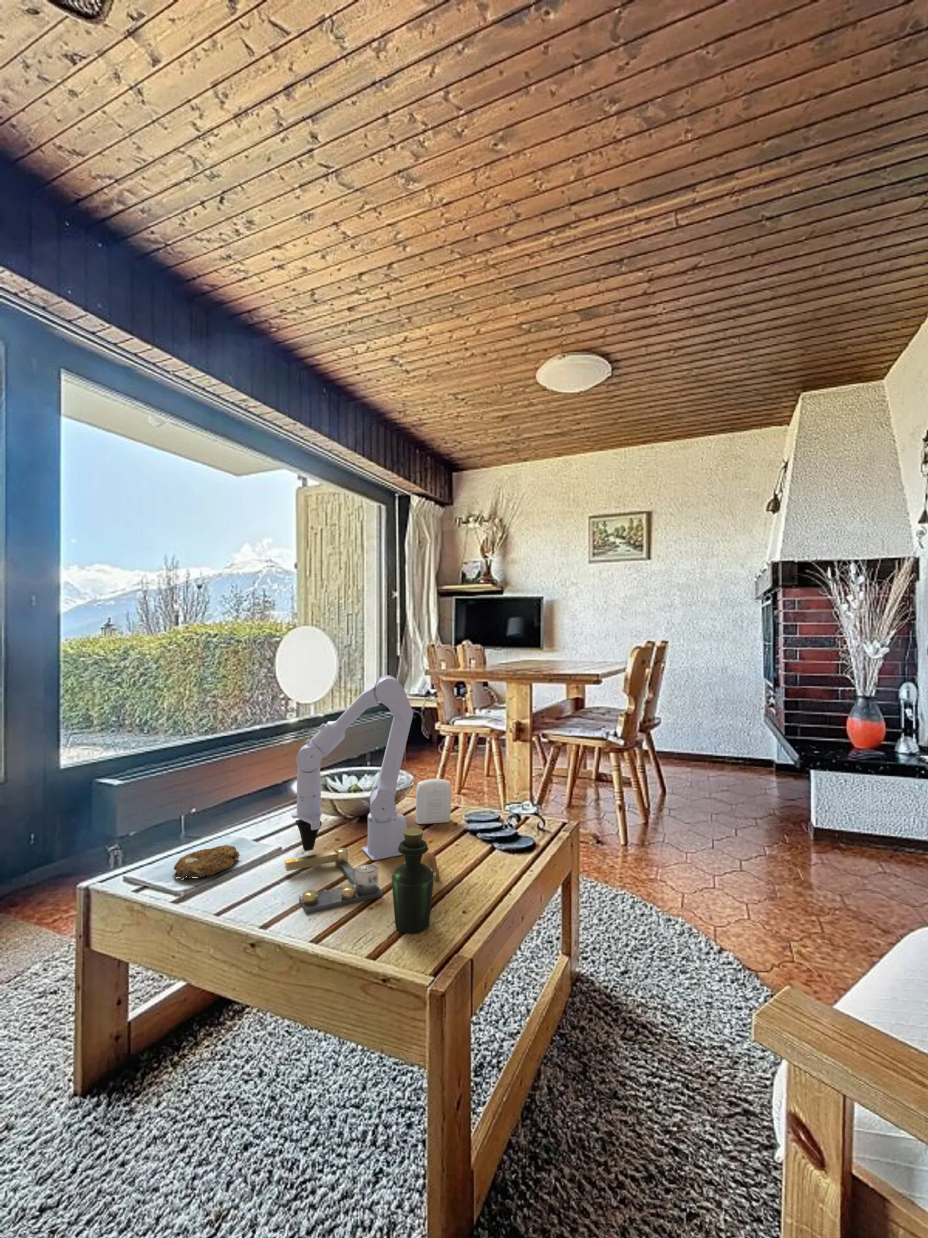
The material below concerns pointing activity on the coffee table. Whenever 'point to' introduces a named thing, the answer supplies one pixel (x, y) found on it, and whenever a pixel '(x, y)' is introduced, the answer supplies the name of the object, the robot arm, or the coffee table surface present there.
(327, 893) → the levelling base
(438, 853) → the coffee table surface
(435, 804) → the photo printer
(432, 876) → the potion bottle
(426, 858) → the lion figurine
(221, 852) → the decorative rock
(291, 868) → the lever
